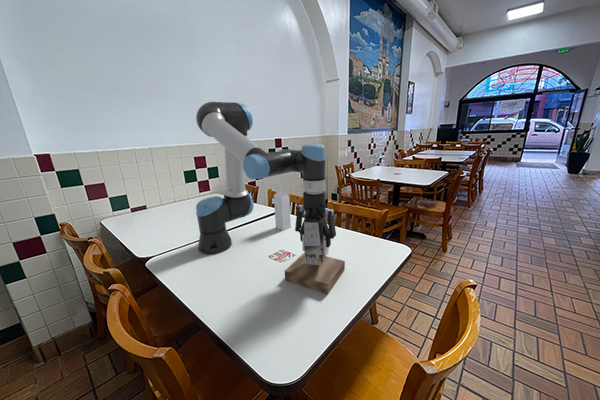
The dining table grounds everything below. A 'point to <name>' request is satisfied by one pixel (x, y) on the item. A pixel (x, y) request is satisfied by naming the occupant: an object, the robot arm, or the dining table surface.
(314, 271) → the walnut pedestal
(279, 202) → the milk
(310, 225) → the coffee box
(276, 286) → the dining table surface
